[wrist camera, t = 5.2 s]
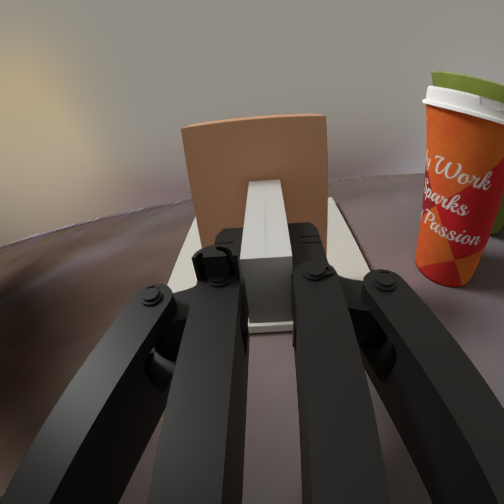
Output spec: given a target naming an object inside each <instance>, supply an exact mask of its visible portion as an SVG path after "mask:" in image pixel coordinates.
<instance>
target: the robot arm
mask: <svg viewBox="0 0 504 504" xmlns="http://www.w3.org/2000/svg"><path fill="white" fill-rule="evenodd" d="M191 259H192V262H193V266H194V270H195V274H196V278H197V283H196V286H194V287H192V288H189V289H186V290H183V291H179V292H175V293H173V292H172V290H171V289H170V288H169V286H167V285H164V284H152V285H148V286H146V287H144V288H142V289H140V290H139V291H138V292H137V293H136V294H135V295H134V296H133V297H132V299H131V300H130V301H129V303H128V304H127V305H126V306H125V308H124V309H123V310H122V312H121V313H120V314H119V316H118V317H117V318H116V319H115V321H114V322H113V323H112V325H111V326H110V327H109V329H108V330H107V331H106V333H105V334H104V336H103V337H102V338H101V340H100V341H99V342H98V344H97V345H96V346H95V348H94V349H93V351H92V352H91V353H90V355H89V356H88V358H87V359H86V360H85V362H84V363H83V365H82V366H81V368H80V369H79V370H78V372H77V373H76V375H75V376H74V378H73V379H72V381H71V382H70V384H69V385H68V387H67V388H66V390H65V391H64V393H63V394H62V396H61V397H60V399H59V400H58V402H57V403H56V405H55V406H54V408H53V410H52V411H51V413H50V414H49V416H48V417H47V419H46V421H45V422H44V424H43V426H42V427H41V429H40V431H39V432H38V434H37V436H36V437H35V439H34V441H33V442H32V444H31V446H30V447H29V449H28V451H27V453H26V455H25V456H24V458H23V460H22V462H21V464H20V465H19V467H18V469H17V471H16V473H15V475H14V477H13V479H12V480H11V482H10V484H9V486H8V488H7V490H6V492H5V494H4V495H3V496H2V497H0V504H118V503H119V501H120V499H121V497H122V495H123V493H124V491H125V489H126V487H127V485H128V483H129V481H130V479H131V476H132V474H133V472H134V470H135V468H136V466H137V464H138V462H139V460H140V458H141V456H142V454H143V452H144V450H145V448H146V446H147V444H148V442H149V440H150V438H151V436H152V434H153V432H154V430H155V428H156V426H157V424H158V422H159V420H160V418H161V416H162V414H163V412H164V410H165V414H164V418H163V423H162V428H161V433H160V438H159V443H158V448H157V453H156V459H155V464H154V469H153V475H152V481H151V487H150V493H149V499H148V504H242V489H243V468H244V447H245V425H246V404H247V382H248V360H249V338H250V335H249V329H248V317H249V323H250V324H251V323H272V322H289V321H293V347H294V352H295V365H296V379H297V394H298V409H299V427H300V447H301V472H302V504H389V501H388V492H387V484H386V477H385V470H384V464H383V458H382V451H381V446H380V440H379V435H378V429H377V424H376V419H375V414H374V409H373V405H372V400H371V395H370V391H369V387H368V382H367V378H366V374H365V370H366V372H367V374H368V376H369V378H370V379H371V381H372V383H373V385H374V387H375V389H376V390H377V392H378V394H379V396H380V398H381V400H382V402H383V404H384V405H385V407H386V409H387V411H388V413H389V415H390V417H391V419H392V421H393V423H394V424H395V426H396V428H397V430H398V432H399V434H400V436H401V438H402V440H403V442H404V444H405V446H406V448H407V450H408V452H409V454H410V456H411V458H412V460H413V462H414V464H415V466H416V468H417V470H418V472H419V474H420V477H421V479H422V481H423V483H424V485H425V487H426V489H427V491H428V494H429V496H430V498H431V500H432V502H433V504H504V409H503V407H502V406H501V404H500V402H499V401H498V399H497V398H496V396H495V395H494V393H493V392H492V390H491V389H490V387H489V386H488V384H487V383H486V381H485V380H484V379H483V377H482V376H481V374H480V373H479V372H478V370H477V369H476V367H475V366H474V365H473V363H472V362H471V361H470V359H469V358H468V357H467V355H466V354H465V353H464V351H463V350H462V349H461V347H460V346H459V345H458V343H457V342H456V341H455V340H454V338H453V337H452V336H451V335H450V333H449V332H448V331H447V330H446V328H445V327H444V326H443V325H442V323H441V322H440V321H439V320H438V319H437V317H436V316H435V315H434V314H433V313H432V311H431V310H430V309H429V308H428V307H427V306H426V304H425V303H424V302H423V301H422V300H421V299H420V297H419V296H418V295H417V294H416V293H415V292H414V291H413V290H412V288H411V287H410V286H409V285H408V284H407V283H406V282H405V281H404V280H403V278H401V277H400V276H399V275H398V274H396V273H394V272H392V271H389V270H383V269H379V270H373V271H371V272H368V273H367V274H366V275H365V276H364V278H363V281H361V280H354V279H349V278H344V277H342V276H340V275H338V274H337V272H336V270H335V269H334V267H333V266H331V265H330V264H329V263H328V260H327V257H326V254H325V250H324V247H323V244H322V241H321V238H320V235H319V232H318V229H317V228H316V227H315V226H314V225H313V224H312V223H310V222H304V223H287V219H286V213H285V207H284V201H283V195H282V189H281V183H280V179H278V180H263V181H250V182H249V186H248V194H247V203H246V211H245V219H244V227H241V228H227V229H222V230H221V231H220V232H219V233H218V234H217V235H216V238H215V242H214V245H210V246H207V247H204V248H202V249H200V250H198V251H197V252H196V253H195V254H194V255H193V257H192V258H191ZM364 369H365V370H364ZM165 408H166V409H165Z"/></svg>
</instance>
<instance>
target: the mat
mask: <svg viewBox="0 0 504 504" xmlns="http://www.w3.org/2000/svg"><path fill="white" fill-rule="evenodd" d="M200 249H202V246H201V241H200V236H199V231H198V226H197V221H196V216H195V219H194V221H193V223H192V226H191V228H190V230H189V233H188V235H187V238H186V240H185V242H184V245H183V247H182V250H181V252H180V254H179V257H178V259H177V262H176V264H175V267H174V269H173V272H172V274H171V277H170V280H169V282H168V285H167V286H169V288H170V289H171V290H172V292H173V293H175V292H179V291H183V290H186V289H189V288H192V287H194V286H196V283H197V278H196V274H195V270H194V266H193V262H192V259H191V258H192V257H193V255H194V254H195V253H196V252H197V251H198V250H200ZM327 260H328V263H329V264H330V265H331V266H333V267H334V269H335V270H336V272H337V274H338V275H340V276H342V277H344V278H349V279H354V280H361V281H363V278H364V276H365V275H366V274H367V273H368V272H370V270H369V268H368V266H367V264H366V262H365V260H364V258H363V256H362V253H361V251H360V249H359V247H358V245H357V243H356V242H355V240H354V238H353V236H352V234H351V232H350V230H349V228H348V226H347V224H346V222H345V220H344V219H343V217H342V215H341V213H340V211H339V209H338V208H337V206H336V204H335V202H334V200H333V199H332V198H328V228H327ZM248 329H249V333H263V332H280V331H293V321H289V322H272V323H251V324H250V323H249V317H248Z"/></svg>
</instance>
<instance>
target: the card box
mask: <svg viewBox="0 0 504 504" xmlns="http://www.w3.org/2000/svg"><path fill="white" fill-rule="evenodd" d="M326 129H327V127H326V116H324V115H320V114H285V115H268V116H255V117H244V118H235V119H226V120H218V121H210V122H203V123H197V124H192V125H189V126H186V127H184V128H181V132H182V139H183V145H184V152H185V158H186V164H187V170H188V176H189V182H190V188H191V193H192V199H193V205H194V210H195V216H196V221H197V226H198V231H199V236H200V241H201V246H202V248H204V247H207V246H210V245H214V242H215V238H216V235H217V234H218V233H219V232H220V231H221V230H222V229H227V228H241V227H244V219H245V211H246V203H247V194H248V186H249V182H250V181H263V180H278V179H280V183H281V189H282V195H283V201H284V207H285V213H286V219H287V223H304V222H310V223H312V224H313V225H314V226H315V227H316V228H317V229H318V232H319V235H320V238H321V241H322V244H323V247H324V250H325V254H326V257H327V228H328V159H327V158H328V155H327V130H326Z"/></svg>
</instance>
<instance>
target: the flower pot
mask: <svg viewBox="0 0 504 504" xmlns="http://www.w3.org/2000/svg"><path fill="white" fill-rule="evenodd" d="M431 73H432V80H433V86H436V87H442V88H448V89H453V90H458V91H462V92H466V93H470V94H474V95H478V96H482V97H485V98H489V99H492V100H495V101H498V102H501V103H504V85H503V84H500V83H497V82H494V81H490V80H487V79H483V78H479V77H474V76H469V75H465V74H459V73H453V72H444V71H432V72H431ZM503 226H504V192H503V196H502V199H501V203H500V206H499V210H498V213H497V216H496V219H495V222H494V225H493V228H492V230H491V233H490V234H496V233H498V232H499V231H500V230H501V229H502V228H503Z"/></svg>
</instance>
